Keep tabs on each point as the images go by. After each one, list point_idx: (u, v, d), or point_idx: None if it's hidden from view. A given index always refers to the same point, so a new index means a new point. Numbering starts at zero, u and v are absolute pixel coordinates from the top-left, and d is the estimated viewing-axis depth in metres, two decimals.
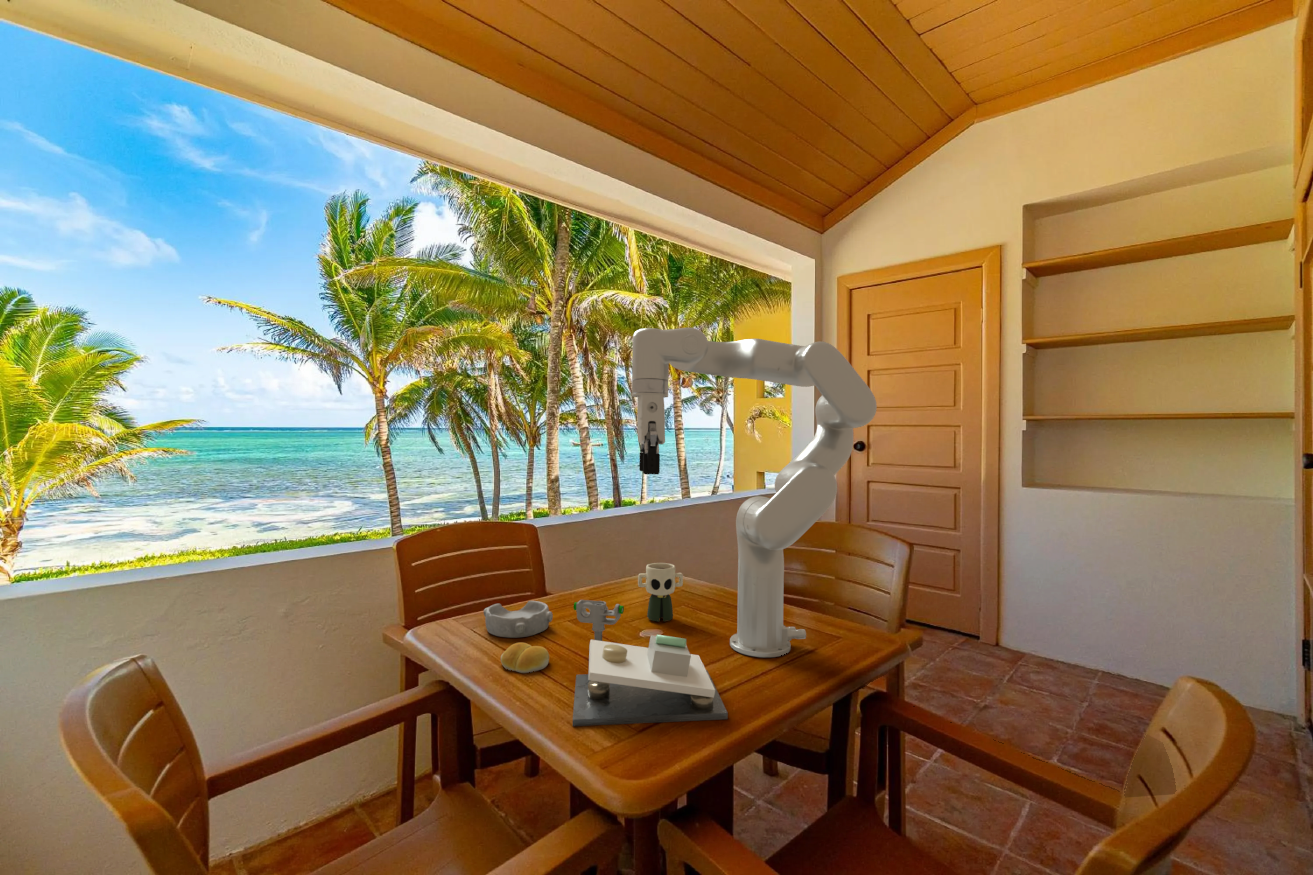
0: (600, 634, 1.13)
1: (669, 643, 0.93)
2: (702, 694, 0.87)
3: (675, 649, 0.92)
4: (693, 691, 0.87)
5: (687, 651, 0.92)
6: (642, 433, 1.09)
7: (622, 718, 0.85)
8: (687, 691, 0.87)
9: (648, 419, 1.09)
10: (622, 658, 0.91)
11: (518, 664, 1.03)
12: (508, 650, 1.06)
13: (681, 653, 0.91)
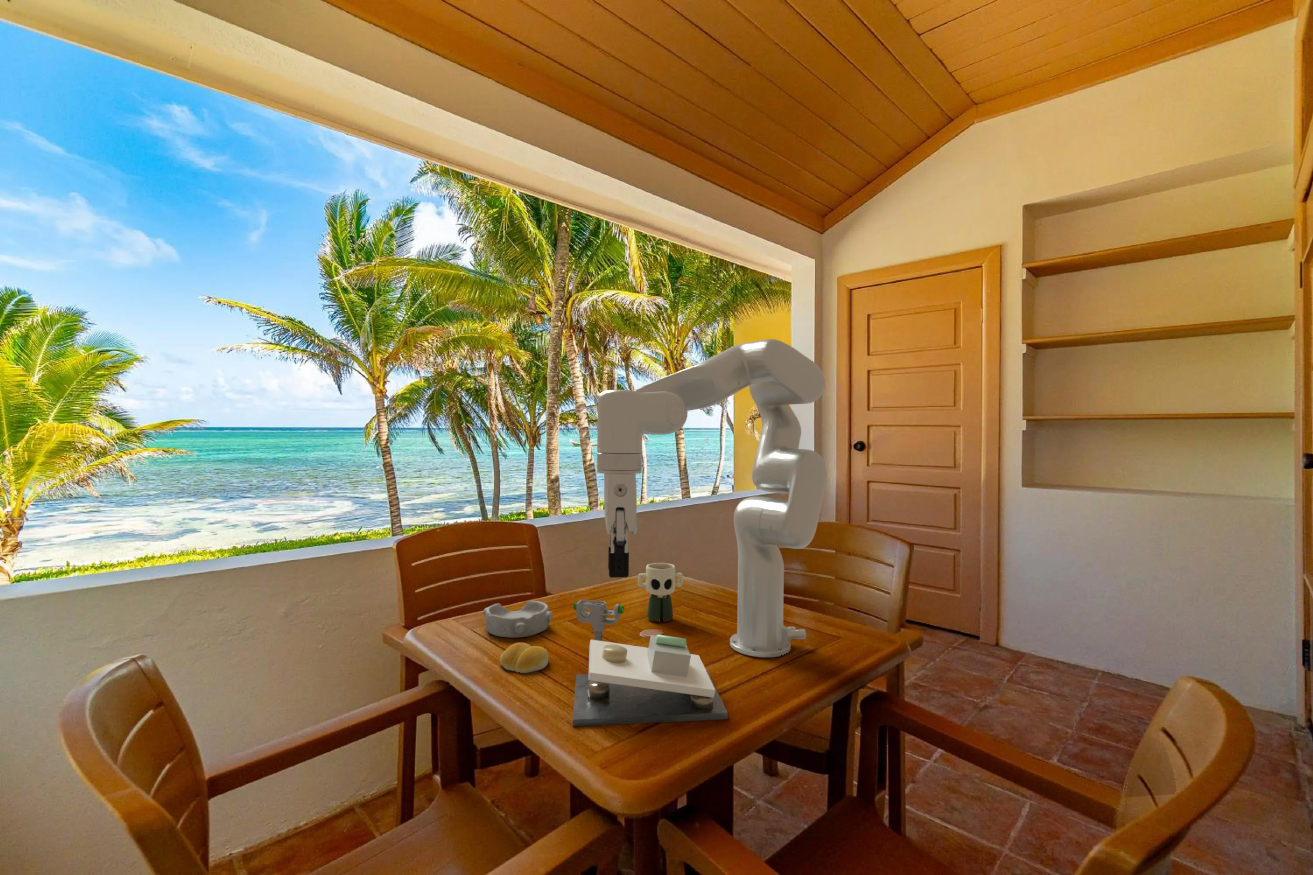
0: (600, 634, 1.13)
1: (669, 643, 0.93)
2: (702, 694, 0.87)
3: (675, 649, 0.92)
4: (693, 691, 0.87)
5: (687, 651, 0.92)
6: (608, 522, 0.88)
7: (622, 718, 0.85)
8: (687, 691, 0.87)
9: (615, 505, 0.88)
10: (622, 658, 0.91)
11: (518, 665, 1.03)
12: (508, 650, 1.06)
13: (681, 653, 0.91)
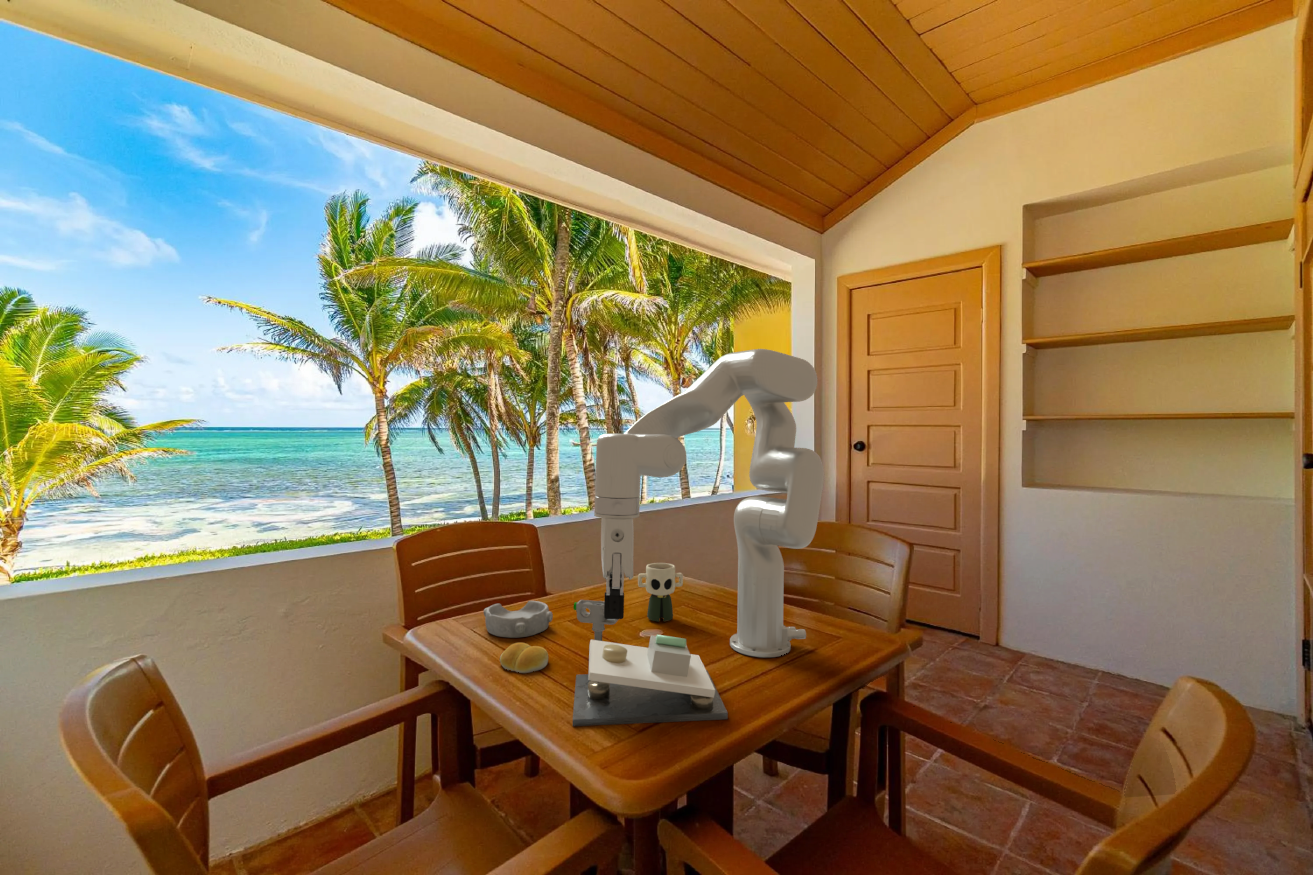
0: (600, 634, 1.13)
1: (669, 643, 0.93)
2: (702, 694, 0.87)
3: (675, 649, 0.92)
4: (693, 691, 0.87)
5: (687, 651, 0.92)
6: (604, 568, 0.88)
7: (622, 718, 0.85)
8: (687, 691, 0.87)
9: (612, 550, 0.87)
10: (622, 658, 0.91)
11: (517, 665, 1.03)
12: (507, 650, 1.06)
13: (681, 653, 0.91)
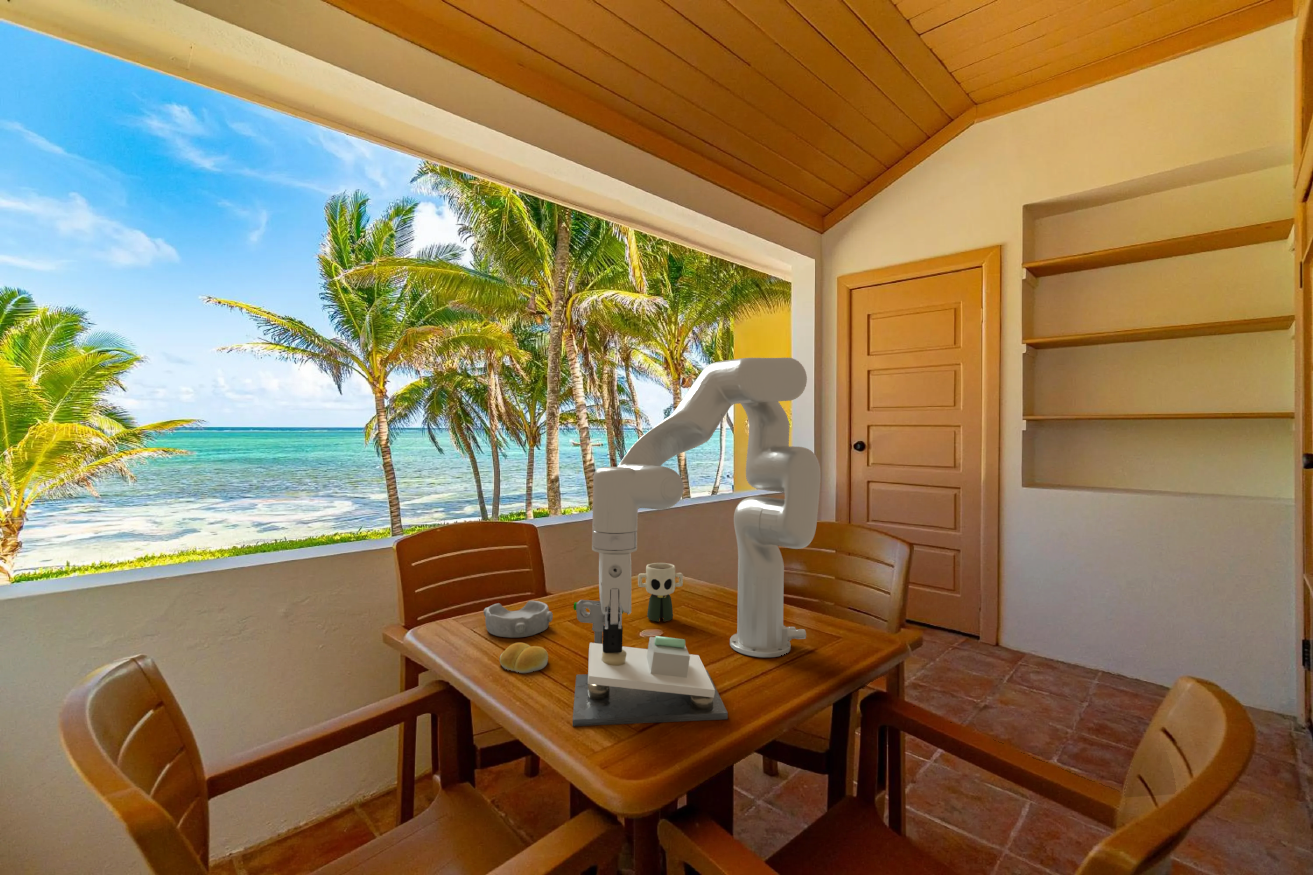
0: (600, 634, 1.13)
1: (668, 644, 0.93)
2: (702, 694, 0.87)
3: (674, 650, 0.92)
4: (693, 692, 0.87)
5: (686, 652, 0.92)
6: (602, 603, 0.88)
7: (622, 718, 0.85)
8: (687, 692, 0.87)
9: (610, 586, 0.87)
10: (621, 660, 0.91)
11: (517, 665, 1.03)
12: (507, 650, 1.06)
13: (680, 654, 0.91)
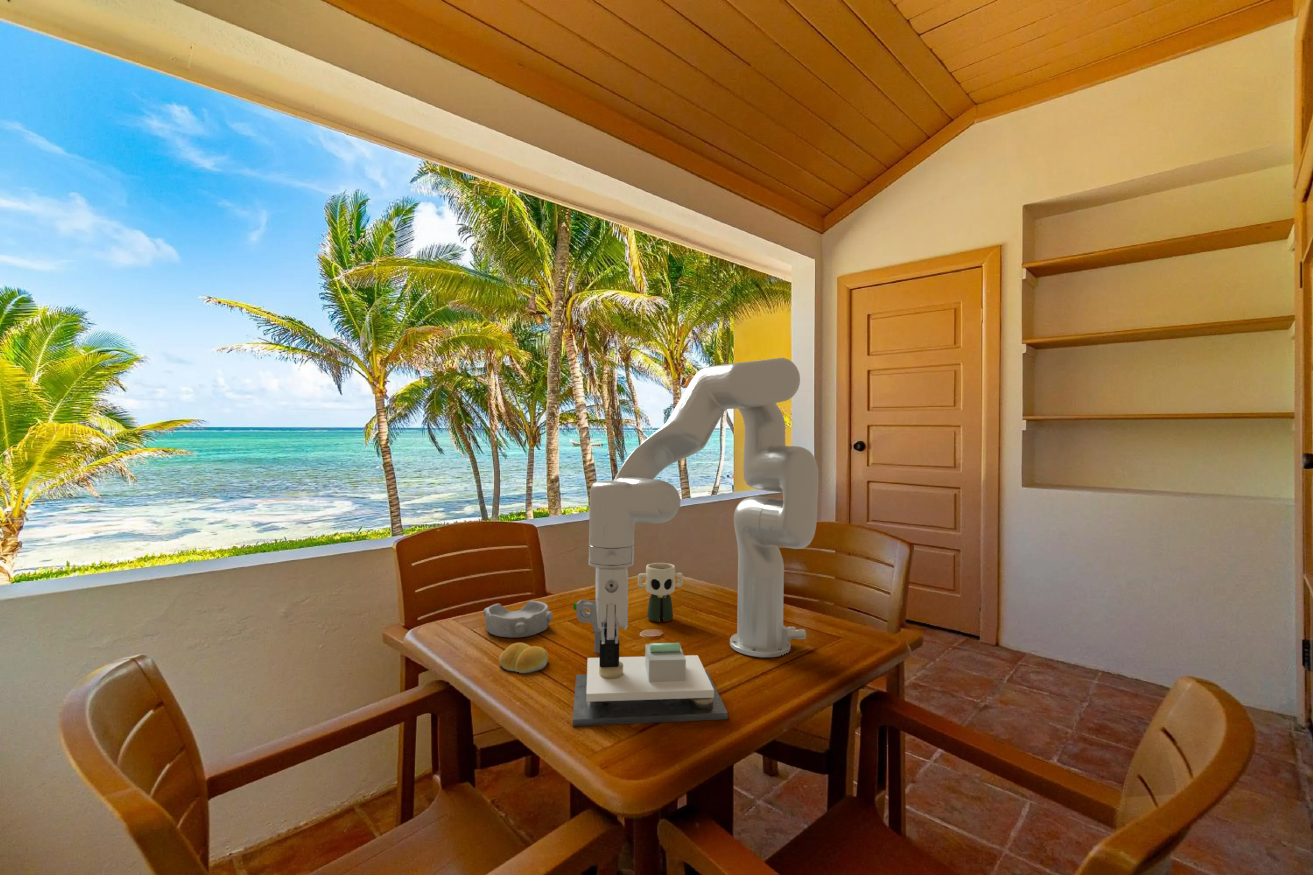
0: (600, 634, 1.13)
1: (663, 650, 0.93)
2: (702, 696, 0.87)
3: (670, 655, 0.92)
4: (692, 695, 0.87)
5: (682, 655, 0.92)
6: (599, 618, 0.88)
7: (622, 718, 0.85)
8: (686, 696, 0.87)
9: (606, 601, 0.87)
10: (618, 672, 0.91)
11: (517, 665, 1.03)
12: (507, 650, 1.06)
13: (676, 658, 0.91)
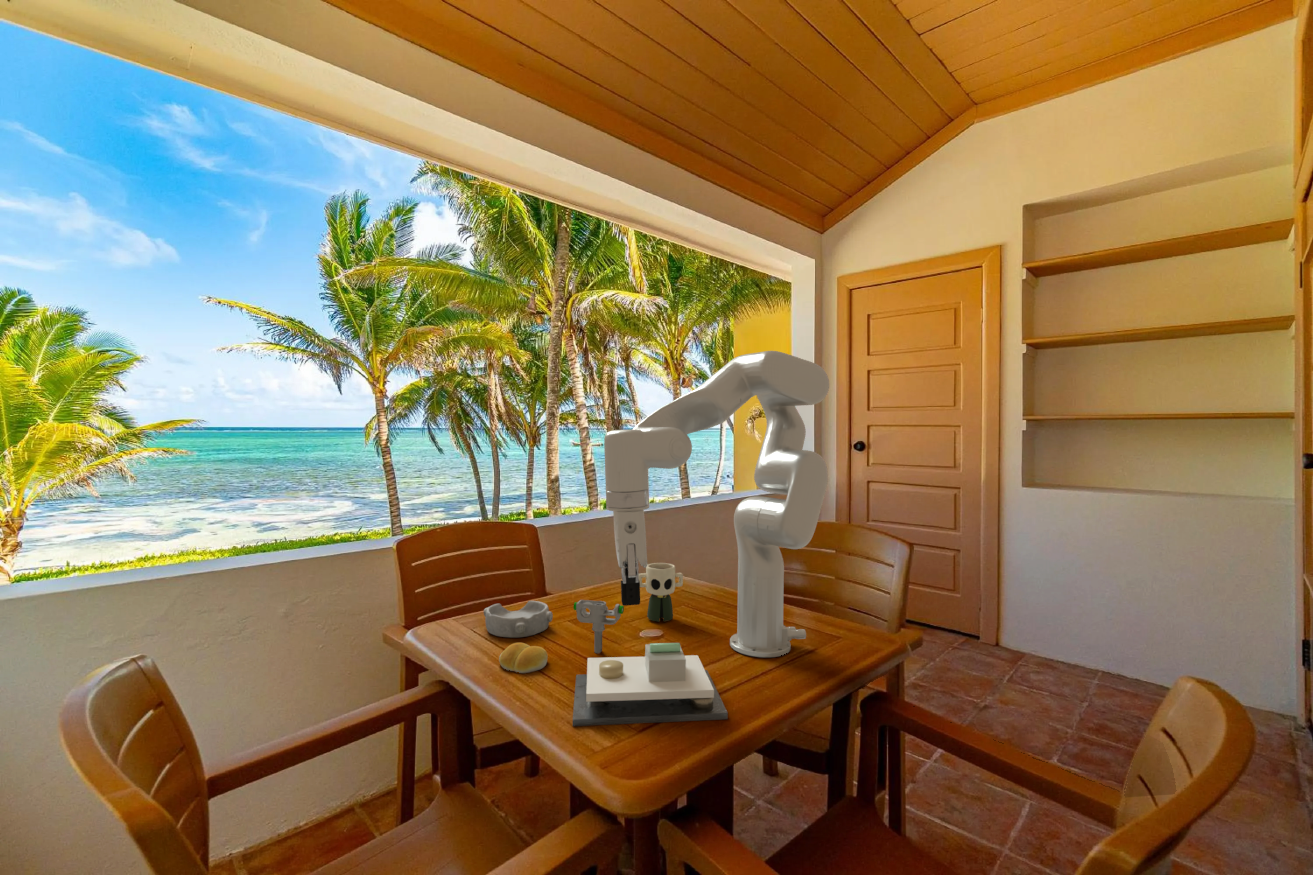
0: (600, 634, 1.13)
1: (663, 650, 0.93)
2: (702, 696, 0.87)
3: (670, 655, 0.92)
4: (692, 695, 0.87)
5: (682, 655, 0.92)
6: (620, 558, 0.92)
7: (622, 718, 0.85)
8: (686, 696, 0.87)
9: (626, 542, 0.92)
10: (618, 672, 0.91)
11: (517, 665, 1.03)
12: (506, 650, 1.06)
13: (676, 658, 0.91)
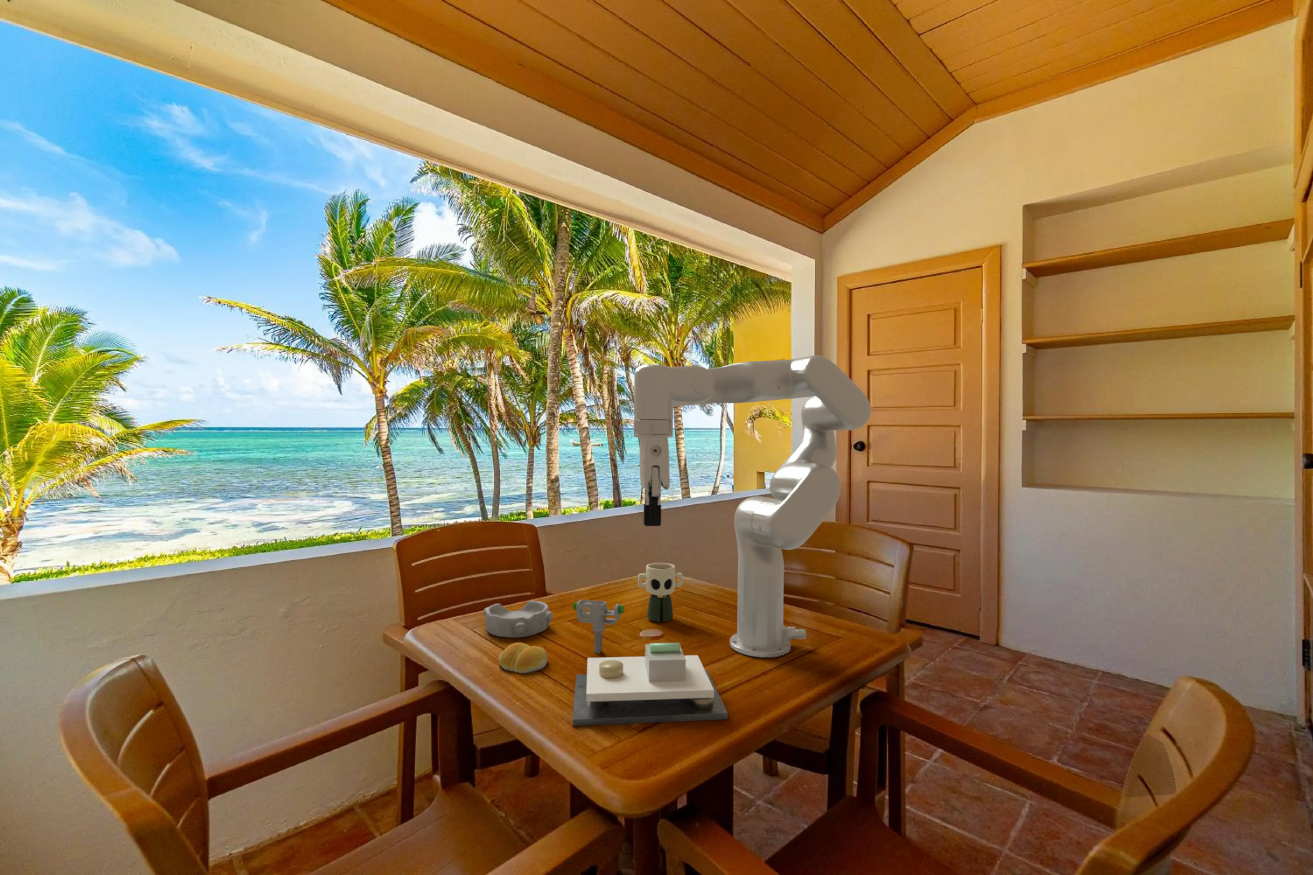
0: (600, 634, 1.13)
1: (663, 650, 0.93)
2: (702, 696, 0.87)
3: (670, 655, 0.92)
4: (692, 695, 0.87)
5: (682, 655, 0.92)
6: (645, 479, 1.01)
7: (622, 718, 0.85)
8: (686, 696, 0.87)
9: (651, 463, 1.01)
10: (618, 672, 0.91)
11: (516, 665, 1.03)
12: (506, 650, 1.06)
13: (676, 658, 0.91)
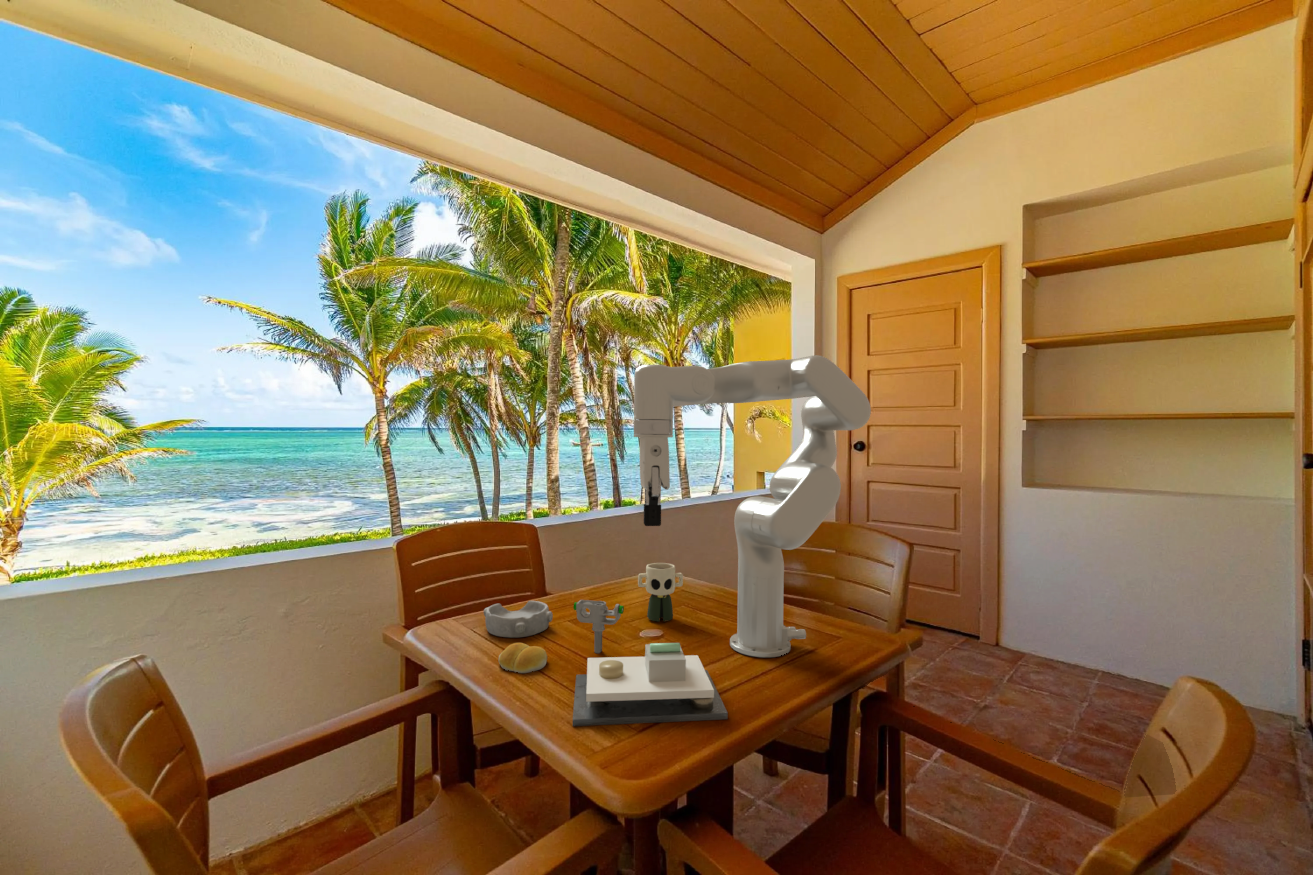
0: (600, 634, 1.13)
1: (663, 650, 0.93)
2: (702, 696, 0.87)
3: (670, 655, 0.92)
4: (692, 695, 0.87)
5: (682, 655, 0.92)
6: (645, 478, 1.01)
7: (622, 718, 0.85)
8: (686, 696, 0.87)
9: (651, 463, 1.01)
10: (618, 672, 0.91)
11: (516, 665, 1.03)
12: (506, 650, 1.06)
13: (676, 658, 0.91)
